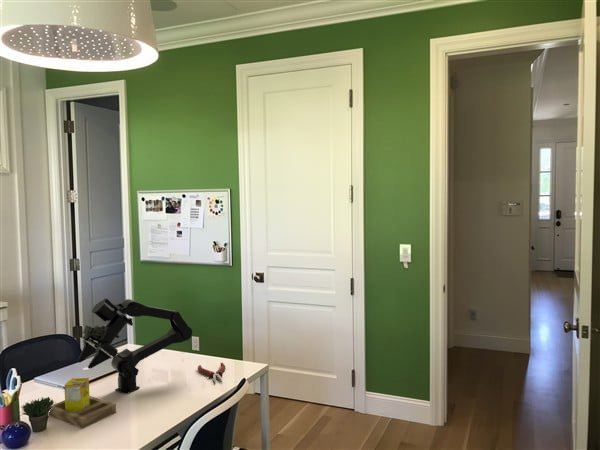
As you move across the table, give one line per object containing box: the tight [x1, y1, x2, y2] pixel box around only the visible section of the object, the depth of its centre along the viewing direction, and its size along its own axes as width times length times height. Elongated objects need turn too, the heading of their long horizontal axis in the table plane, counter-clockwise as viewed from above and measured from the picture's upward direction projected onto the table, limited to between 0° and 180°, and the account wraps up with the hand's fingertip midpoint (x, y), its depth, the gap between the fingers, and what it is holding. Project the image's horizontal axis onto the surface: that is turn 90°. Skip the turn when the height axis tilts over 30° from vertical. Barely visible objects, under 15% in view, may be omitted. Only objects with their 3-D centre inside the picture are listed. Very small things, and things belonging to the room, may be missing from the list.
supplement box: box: [64, 377, 90, 413], centre depth 164 cm, size 6×6×11 cm
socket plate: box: [48, 395, 117, 429], centre depth 163 cm, size 18×13×3 cm
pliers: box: [197, 362, 226, 384], centre depth 199 cm, size 12×20×3 cm, turn 20°
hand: (83, 365), depth 172 cm, fingers open, 9 cm apart
